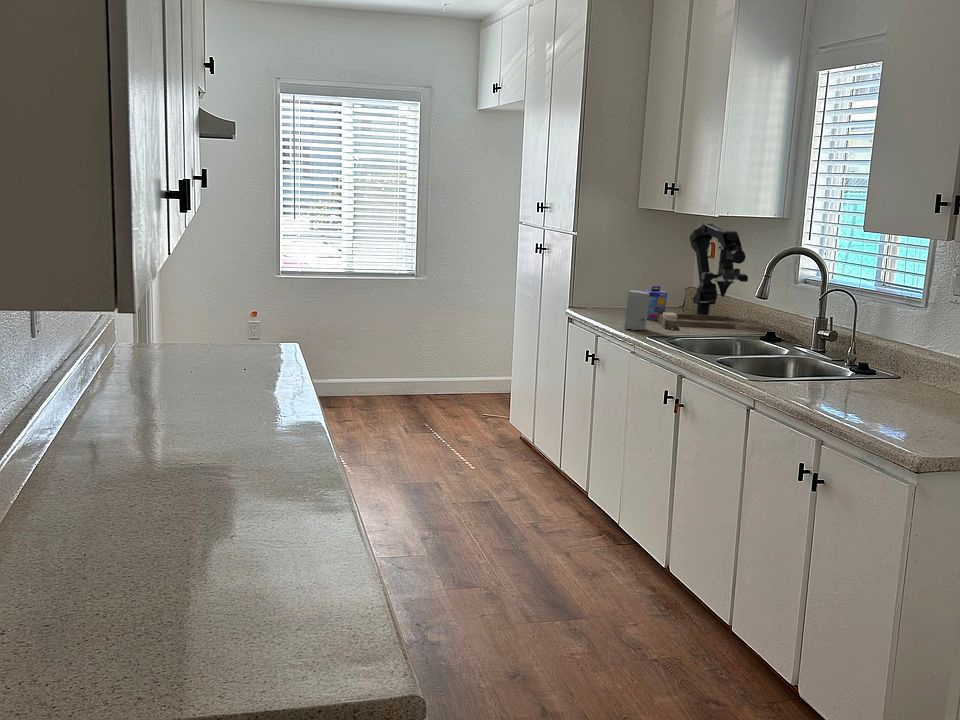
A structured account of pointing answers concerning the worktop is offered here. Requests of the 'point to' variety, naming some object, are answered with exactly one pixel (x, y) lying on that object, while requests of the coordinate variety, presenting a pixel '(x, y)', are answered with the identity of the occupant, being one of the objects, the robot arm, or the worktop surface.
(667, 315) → the maple block
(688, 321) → the trap box
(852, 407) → the worktop surface
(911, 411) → the worktop surface
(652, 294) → the ink cartridge box
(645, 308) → the skincare box
